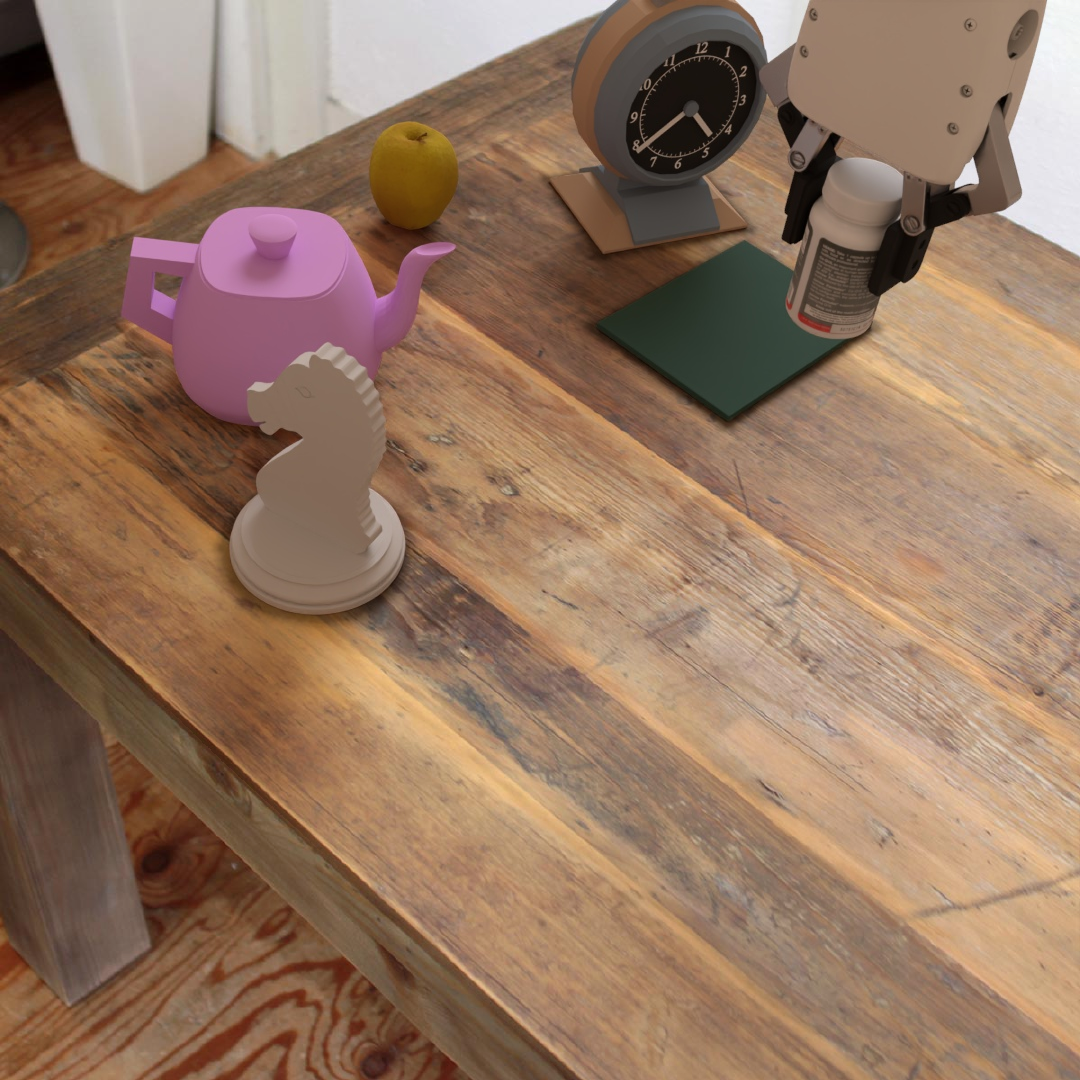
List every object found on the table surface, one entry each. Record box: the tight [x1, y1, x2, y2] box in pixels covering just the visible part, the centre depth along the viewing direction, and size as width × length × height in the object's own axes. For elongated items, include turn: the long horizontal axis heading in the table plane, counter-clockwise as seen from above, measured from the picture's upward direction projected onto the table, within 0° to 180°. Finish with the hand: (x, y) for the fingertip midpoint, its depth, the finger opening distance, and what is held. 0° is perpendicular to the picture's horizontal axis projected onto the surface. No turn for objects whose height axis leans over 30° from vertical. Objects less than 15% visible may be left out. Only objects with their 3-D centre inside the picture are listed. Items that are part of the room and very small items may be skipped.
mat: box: [595, 239, 874, 422], centre depth 93 cm, size 16×12×1 cm
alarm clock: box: [549, 0, 769, 255], centre depth 96 cm, size 14×10×18 cm
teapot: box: [120, 206, 457, 428], centre depth 82 cm, size 13×20×11 cm
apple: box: [368, 120, 459, 231], centre depth 95 cm, size 6×6×8 cm
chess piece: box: [228, 342, 406, 616], centre depth 70 cm, size 10×10×15 cm
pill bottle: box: [786, 157, 903, 339], centre depth 69 cm, size 5×5×8 cm
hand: (845, 255), depth 69 cm, fingers closed on pill bottle, 4 cm apart
